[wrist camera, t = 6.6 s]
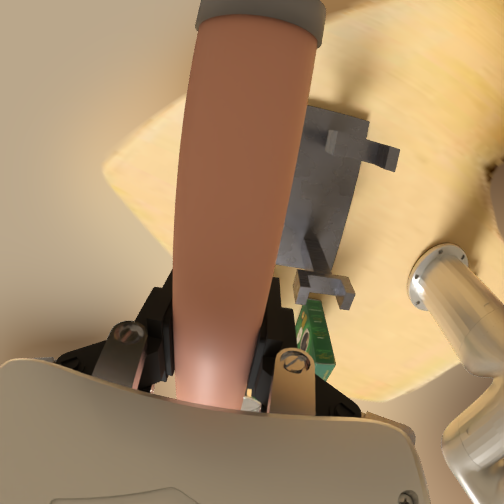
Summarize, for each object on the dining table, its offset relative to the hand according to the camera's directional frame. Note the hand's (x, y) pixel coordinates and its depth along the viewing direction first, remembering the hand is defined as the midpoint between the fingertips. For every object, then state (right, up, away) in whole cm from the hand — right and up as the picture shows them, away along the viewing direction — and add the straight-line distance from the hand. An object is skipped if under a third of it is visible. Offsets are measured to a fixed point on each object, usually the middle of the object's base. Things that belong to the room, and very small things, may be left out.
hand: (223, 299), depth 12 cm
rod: (0, -1, -3) cm, 3 cm away
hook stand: (+10, +10, +23) cm, 27 cm away
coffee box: (+10, -8, +32) cm, 34 cm away
